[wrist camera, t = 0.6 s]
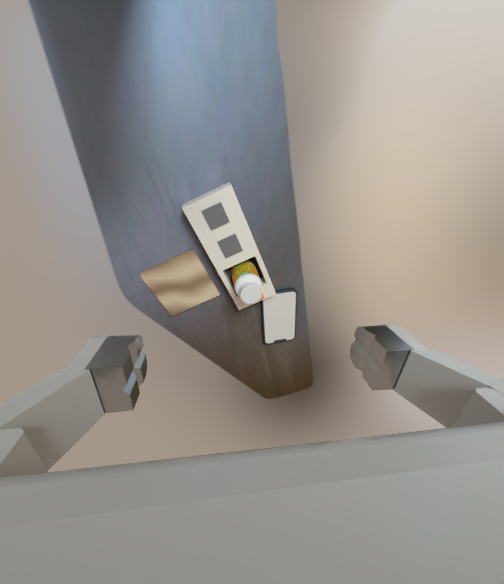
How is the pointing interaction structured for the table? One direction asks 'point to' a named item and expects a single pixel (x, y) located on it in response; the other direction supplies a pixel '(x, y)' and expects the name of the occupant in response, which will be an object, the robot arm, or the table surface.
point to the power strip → (225, 236)
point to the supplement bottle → (247, 282)
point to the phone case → (279, 316)
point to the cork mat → (180, 282)
